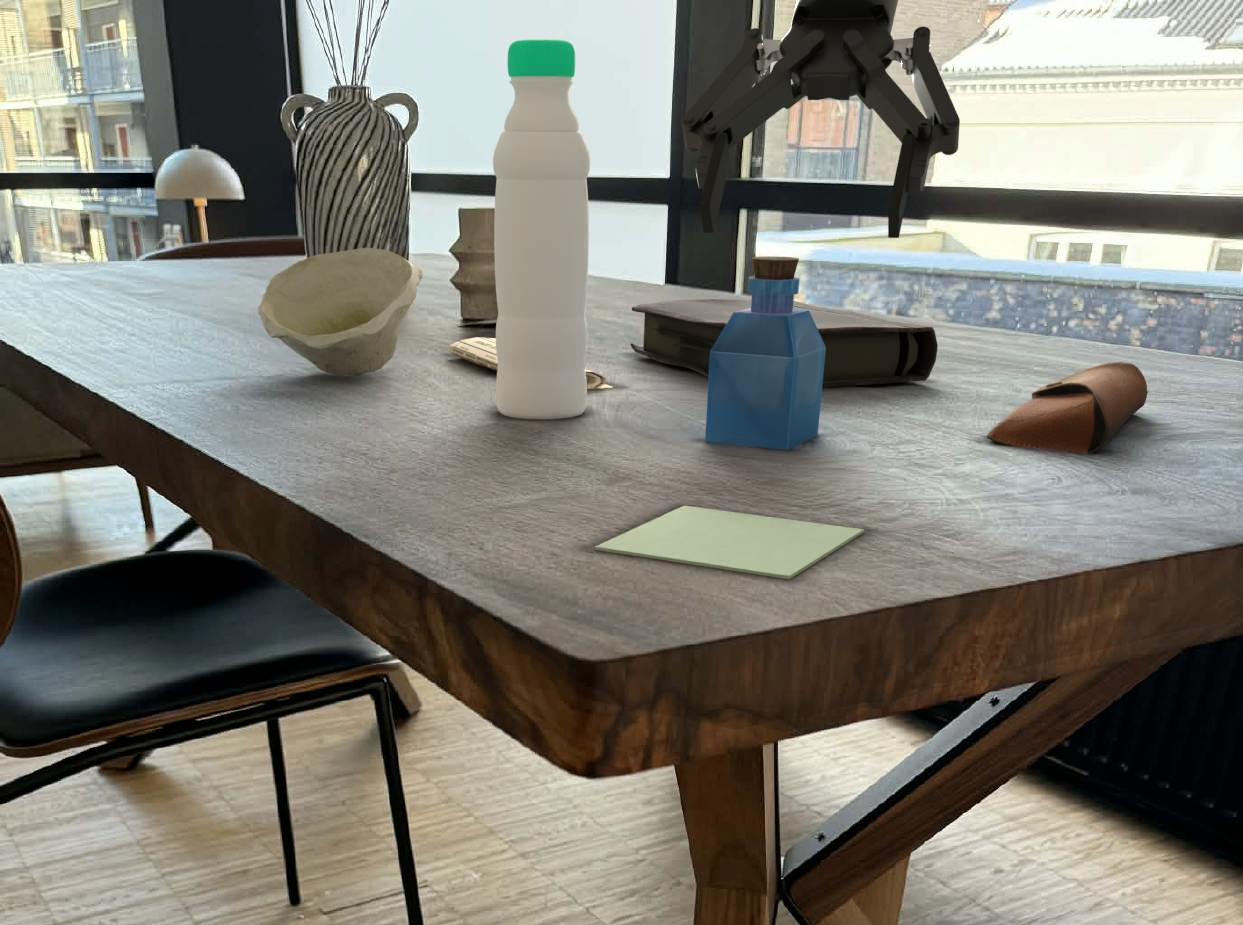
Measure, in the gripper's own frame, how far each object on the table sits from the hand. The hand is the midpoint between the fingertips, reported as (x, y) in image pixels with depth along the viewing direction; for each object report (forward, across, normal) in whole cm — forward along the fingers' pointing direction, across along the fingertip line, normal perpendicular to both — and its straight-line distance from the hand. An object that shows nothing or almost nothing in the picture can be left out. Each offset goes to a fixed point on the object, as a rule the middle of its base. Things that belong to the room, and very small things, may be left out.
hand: (798, 222), depth 104 cm
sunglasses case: (+8, -21, -12) cm, 25 cm away
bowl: (+3, +42, -17) cm, 45 cm away
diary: (-9, +6, -28) cm, 30 cm away
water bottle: (+13, +18, -7) cm, 23 cm away
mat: (+37, -4, +17) cm, 41 cm away
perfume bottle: (+16, 0, -4) cm, 16 cm away
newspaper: (-2, +26, -21) cm, 34 cm away
